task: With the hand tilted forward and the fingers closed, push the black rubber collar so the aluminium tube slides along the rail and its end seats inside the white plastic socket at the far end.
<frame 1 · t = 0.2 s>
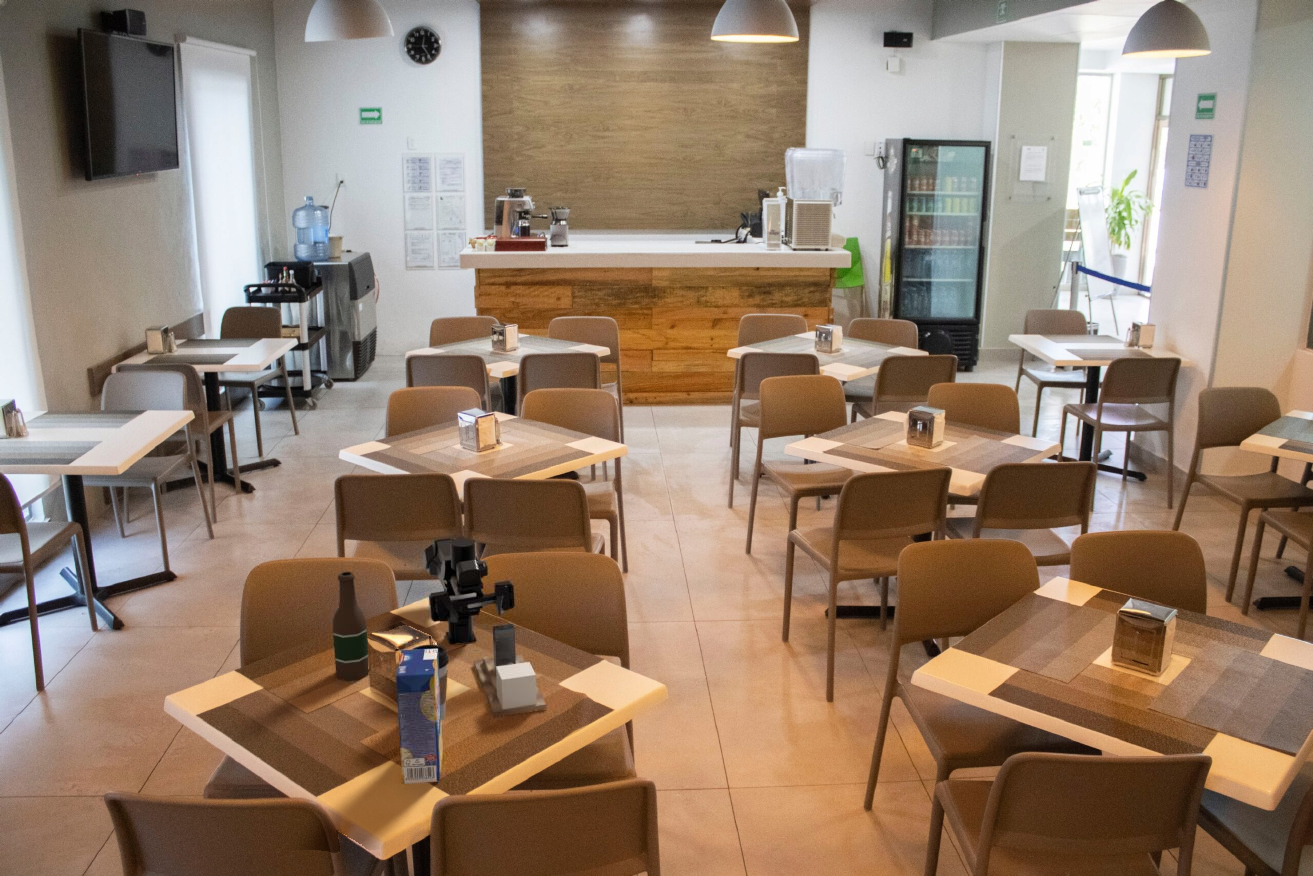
hand: (479, 616, 240), 16 cm above the table, tool horizontal, fingers open, 9 cm apart
coffee cup: (430, 717, 231), on the table
rail: (508, 686, 244), on the table
beer bottle: (352, 674, 249), on the table
beverage box: (423, 768, 212), on the table
socket: (513, 698, 239), resting on rail
slip tube: (507, 657, 242), point 7 cm above the table, slide at 0.0 cm
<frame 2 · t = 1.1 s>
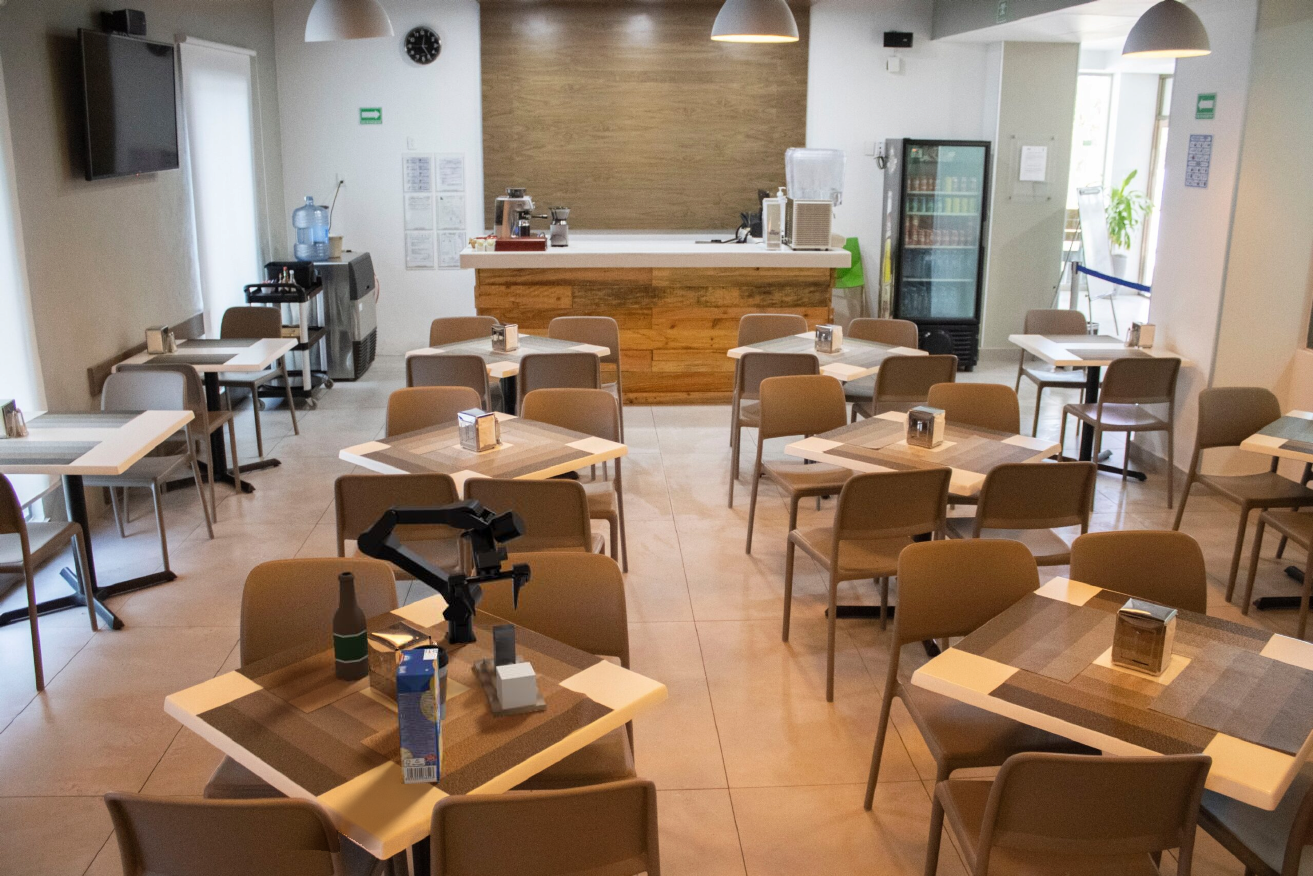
hand: (495, 612, 251), 13 cm above the table, tool tilted 45°, fingers open, 9 cm apart
nothing on the table moved.
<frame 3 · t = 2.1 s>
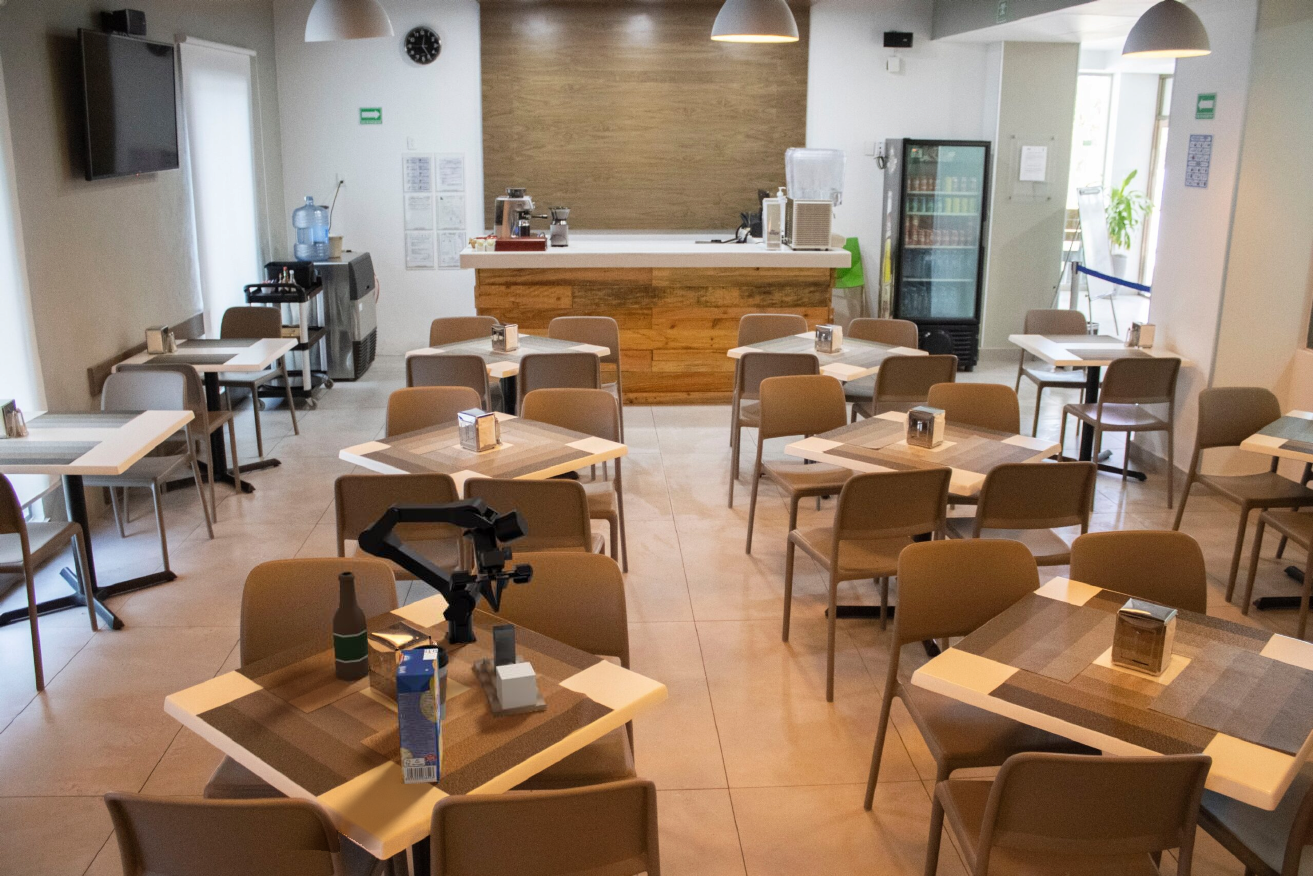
hand: (497, 612, 252), 13 cm above the table, tool tilted 45°, fingers closed
nothing on the table moved.
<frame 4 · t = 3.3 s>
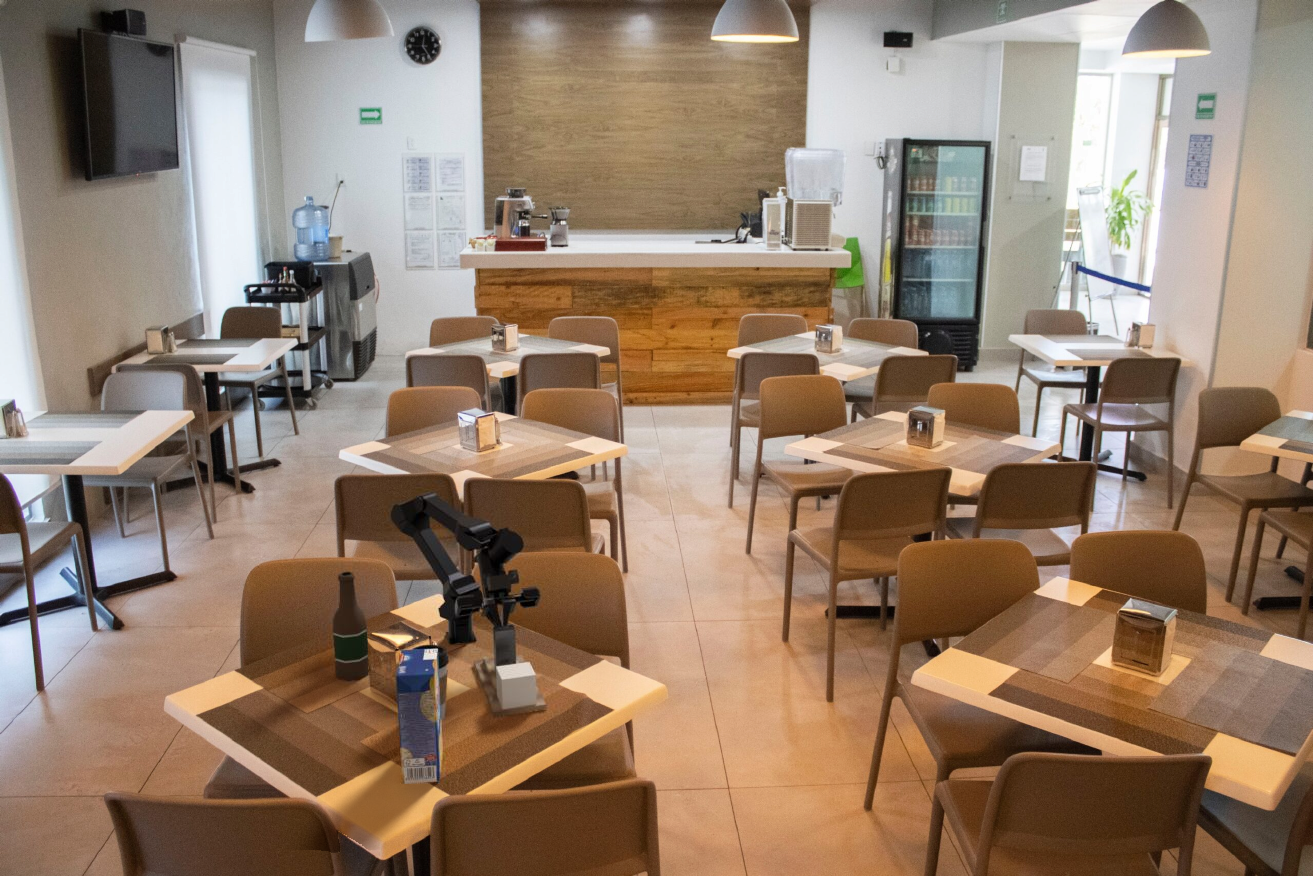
hand: (503, 637, 246), 10 cm above the table, tool tilted 45°, fingers closed, pressing on slip tube
slip tube: (507, 658, 242), point 7 cm above the table, slide at 0.5 cm, touching gripper
everything else where it was.
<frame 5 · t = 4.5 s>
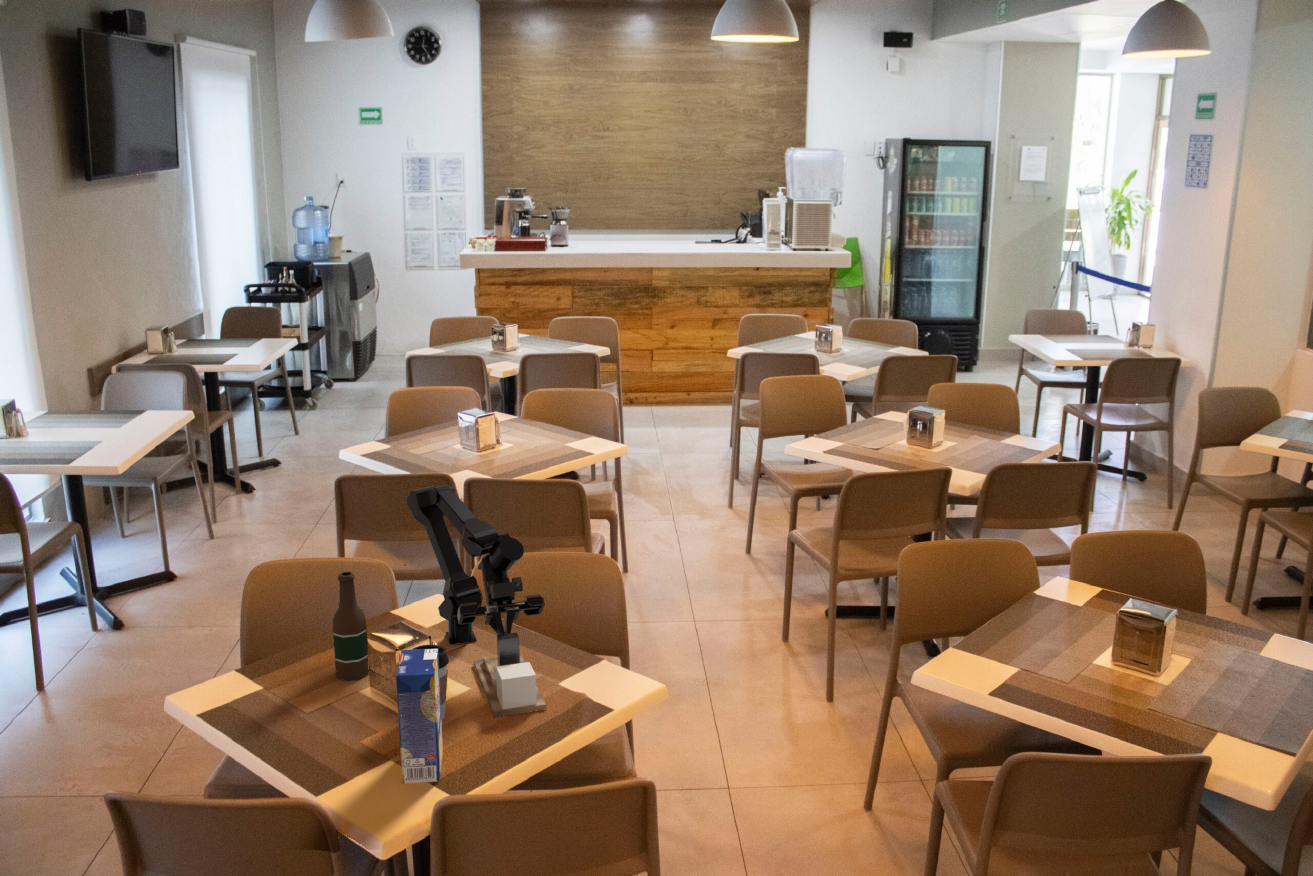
hand: (507, 645, 242), 10 cm above the table, tool tilted 45°, fingers closed, pressing on slip tube
slip tube: (512, 666, 238), point 7 cm above the table, slide at 4.8 cm, touching gripper
everything else where it was.
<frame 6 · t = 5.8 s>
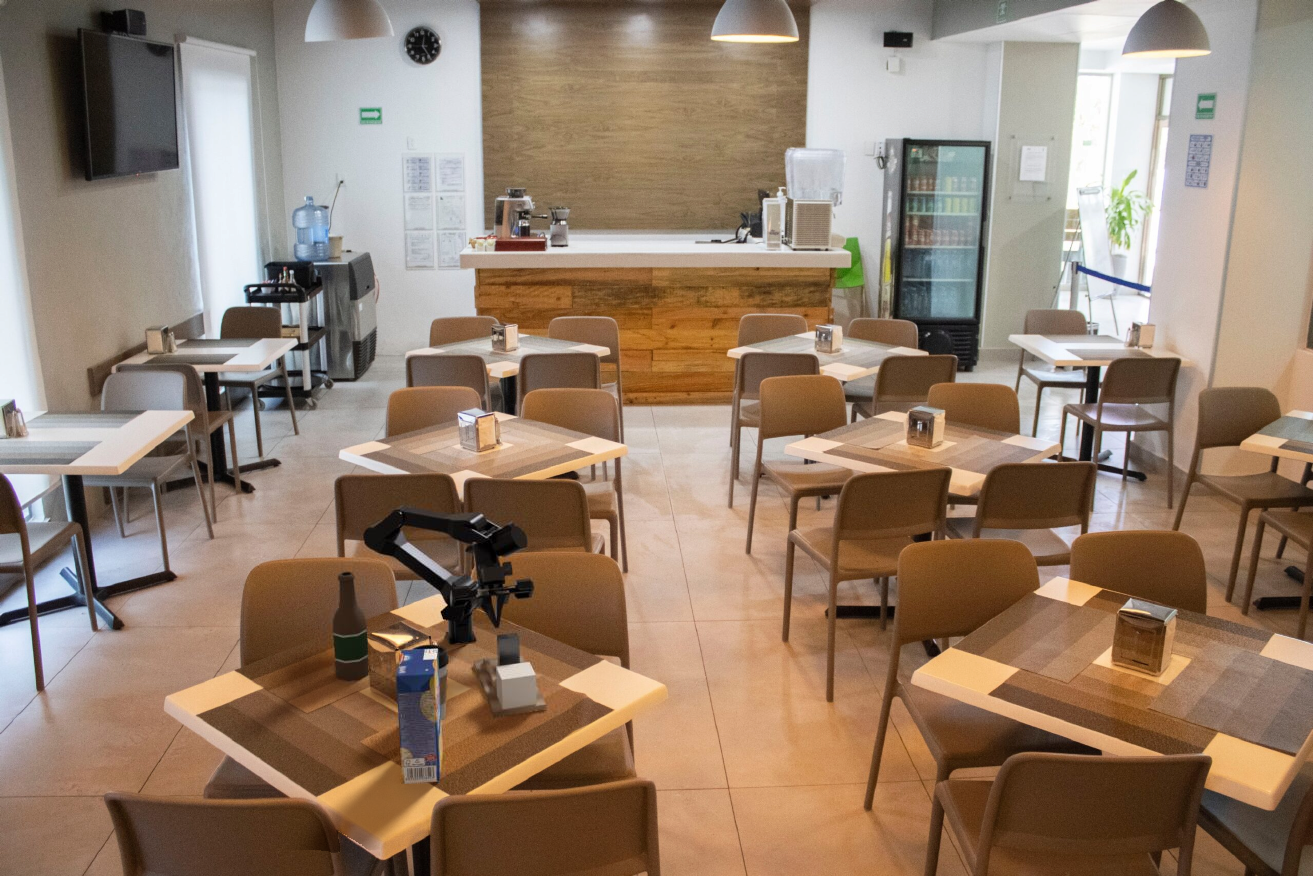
hand: (497, 627, 251), 10 cm above the table, tool tilted 45°, fingers closed
slip tube: (512, 666, 238), point 7 cm above the table, slide at 4.8 cm
everything else where it was.
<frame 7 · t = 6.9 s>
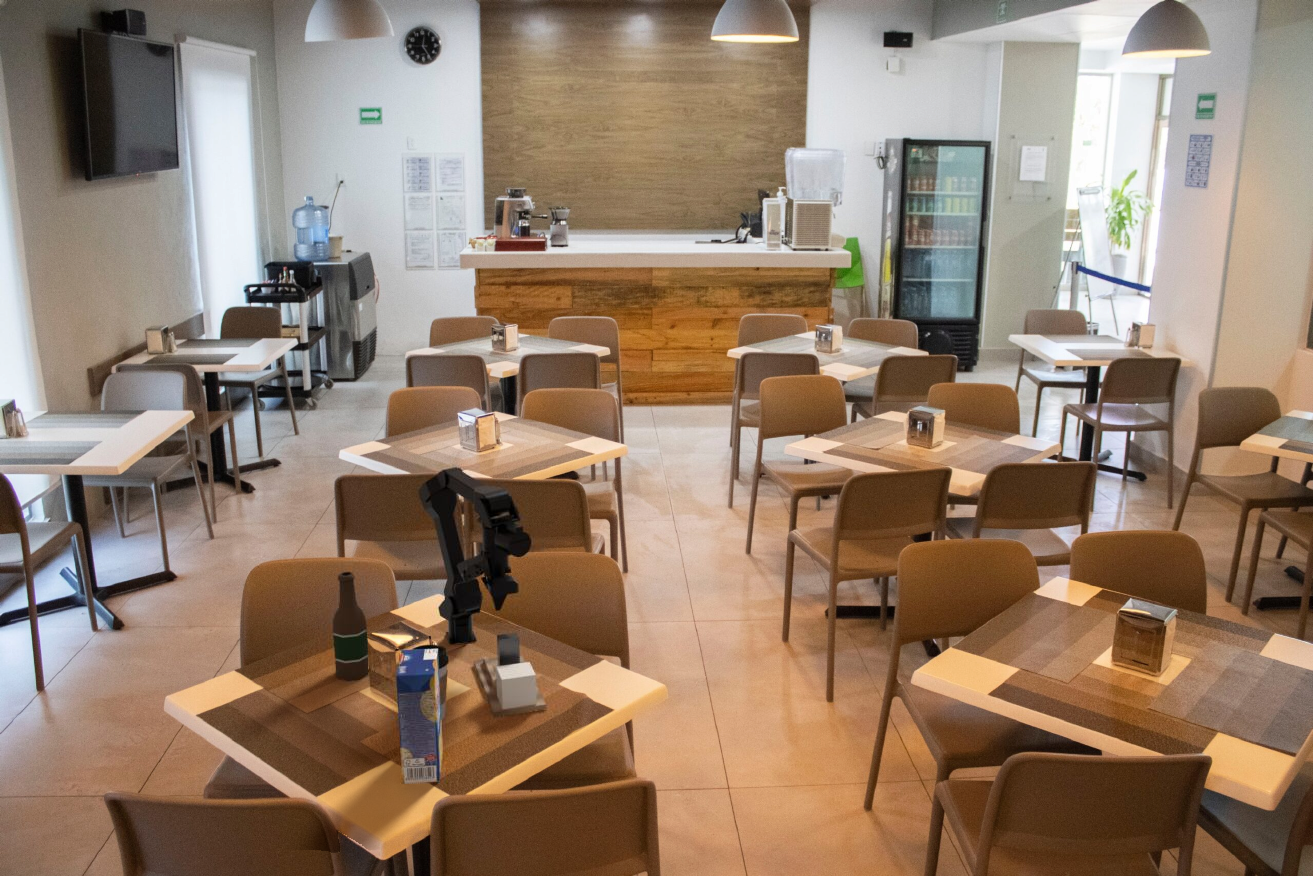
hand: (497, 610, 251), 13 cm above the table, tool pointing down, fingers closed
nothing on the table moved.
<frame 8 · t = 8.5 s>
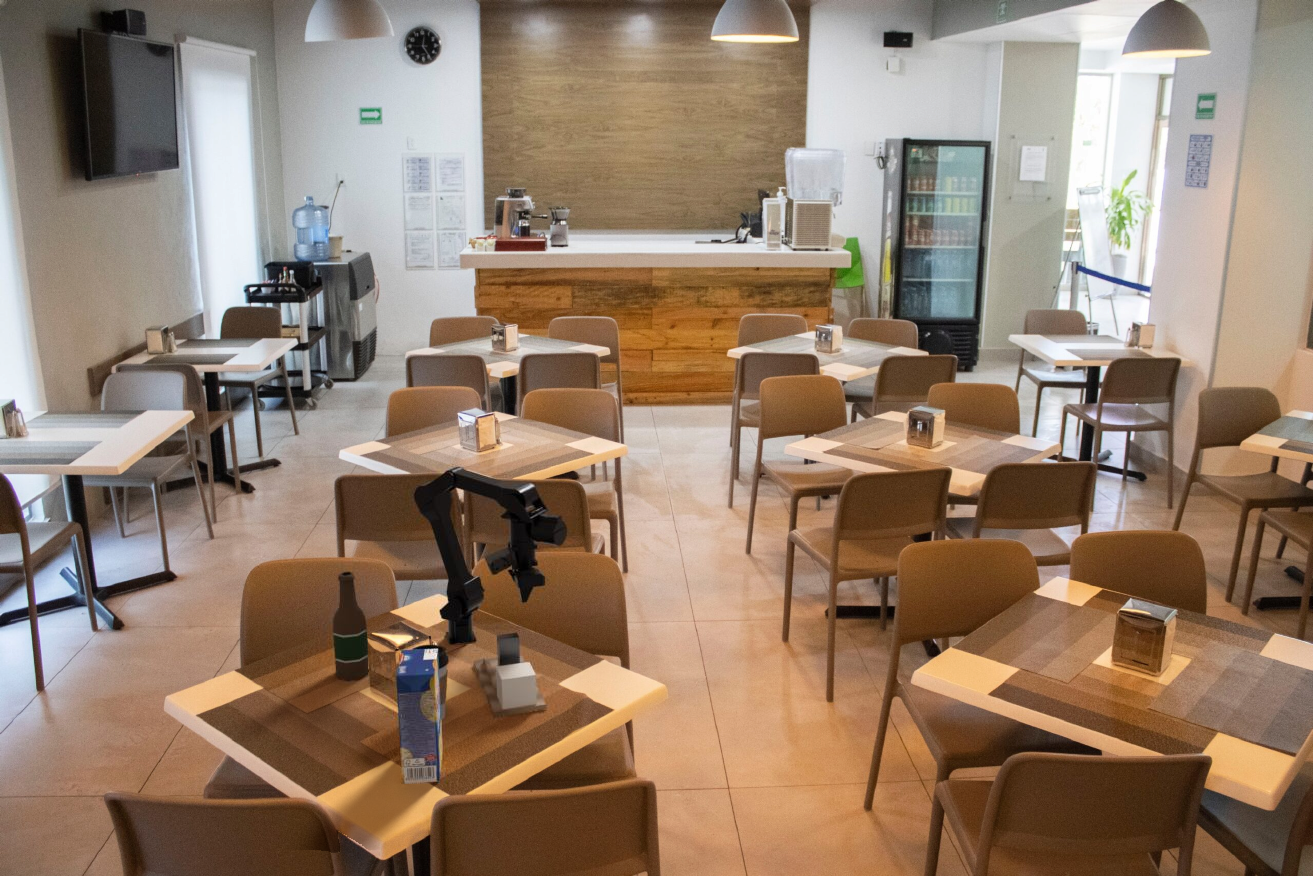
hand: (524, 602, 256), 13 cm above the table, tool pointing down, fingers closed
nothing on the table moved.
at the end: slip tube slide at 4.8 cm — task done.
